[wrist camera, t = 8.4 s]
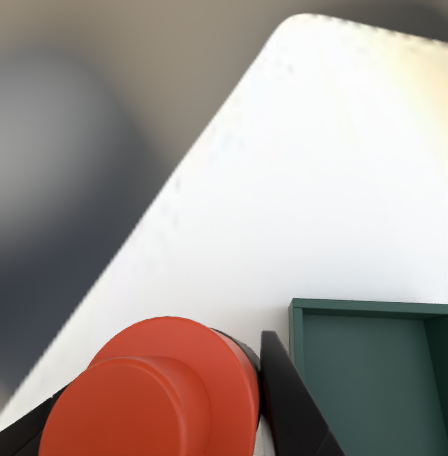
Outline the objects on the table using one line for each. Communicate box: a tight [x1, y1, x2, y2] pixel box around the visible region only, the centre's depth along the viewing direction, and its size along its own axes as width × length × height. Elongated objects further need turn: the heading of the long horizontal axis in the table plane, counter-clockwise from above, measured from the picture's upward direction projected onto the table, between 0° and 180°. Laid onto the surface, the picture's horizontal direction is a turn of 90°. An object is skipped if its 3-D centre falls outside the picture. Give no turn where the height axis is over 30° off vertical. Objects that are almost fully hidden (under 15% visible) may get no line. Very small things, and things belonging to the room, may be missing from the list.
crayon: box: [38, 316, 262, 456], centre depth 9 cm, size 3×3×13 cm
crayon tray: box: [289, 298, 448, 456], centre depth 17 cm, size 11×10×4 cm
